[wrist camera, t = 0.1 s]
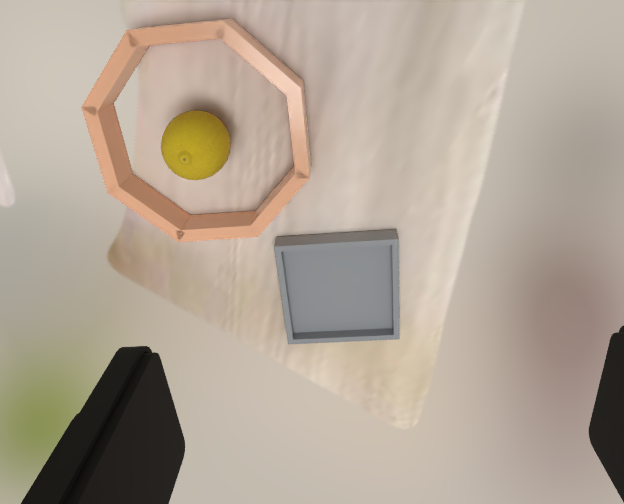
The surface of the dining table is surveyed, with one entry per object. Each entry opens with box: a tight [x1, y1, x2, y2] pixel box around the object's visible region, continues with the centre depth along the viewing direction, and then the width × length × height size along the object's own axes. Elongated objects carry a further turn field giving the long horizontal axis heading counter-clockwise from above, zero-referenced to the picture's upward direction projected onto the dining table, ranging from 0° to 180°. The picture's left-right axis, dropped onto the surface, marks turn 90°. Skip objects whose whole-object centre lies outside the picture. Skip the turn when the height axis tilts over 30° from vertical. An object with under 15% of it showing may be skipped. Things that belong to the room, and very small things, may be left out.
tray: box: [274, 229, 400, 344], centre depth 51 cm, size 12×12×2 cm
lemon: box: [161, 110, 231, 180], centre depth 42 cm, size 6×6×8 cm
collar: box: [82, 18, 311, 242], centre depth 44 cm, size 18×18×4 cm
